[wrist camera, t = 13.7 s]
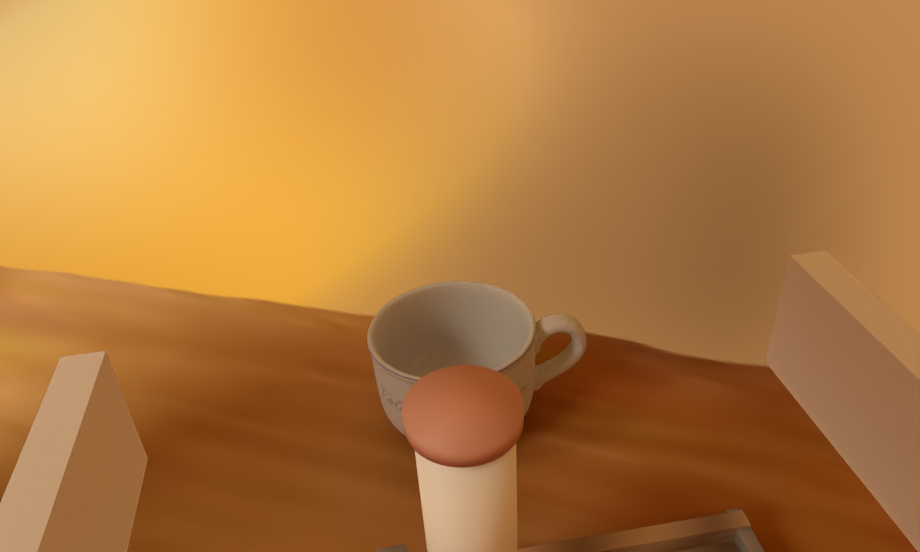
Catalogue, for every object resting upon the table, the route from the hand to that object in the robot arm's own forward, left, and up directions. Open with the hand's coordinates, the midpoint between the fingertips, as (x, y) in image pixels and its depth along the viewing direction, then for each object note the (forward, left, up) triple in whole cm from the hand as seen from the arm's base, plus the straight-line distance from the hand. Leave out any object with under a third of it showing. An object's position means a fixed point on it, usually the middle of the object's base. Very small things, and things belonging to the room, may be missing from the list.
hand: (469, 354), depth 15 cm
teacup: (+4, +26, -28) cm, 38 cm away
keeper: (+1, +9, -26) cm, 28 cm away
